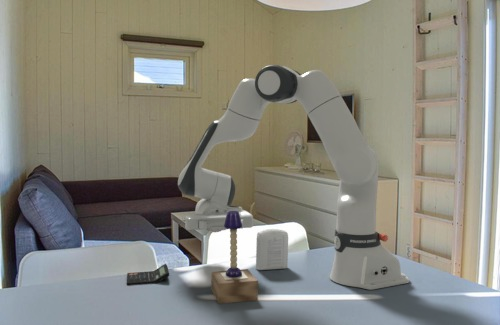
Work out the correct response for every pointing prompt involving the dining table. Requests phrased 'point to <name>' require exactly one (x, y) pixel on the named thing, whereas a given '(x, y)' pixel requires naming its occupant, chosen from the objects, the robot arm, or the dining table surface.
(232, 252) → the toy lamp
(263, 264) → the white upright block
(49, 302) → the dining table surface
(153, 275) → the calculator
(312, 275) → the dining table surface
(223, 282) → the cardboard box
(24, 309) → the dining table surface
